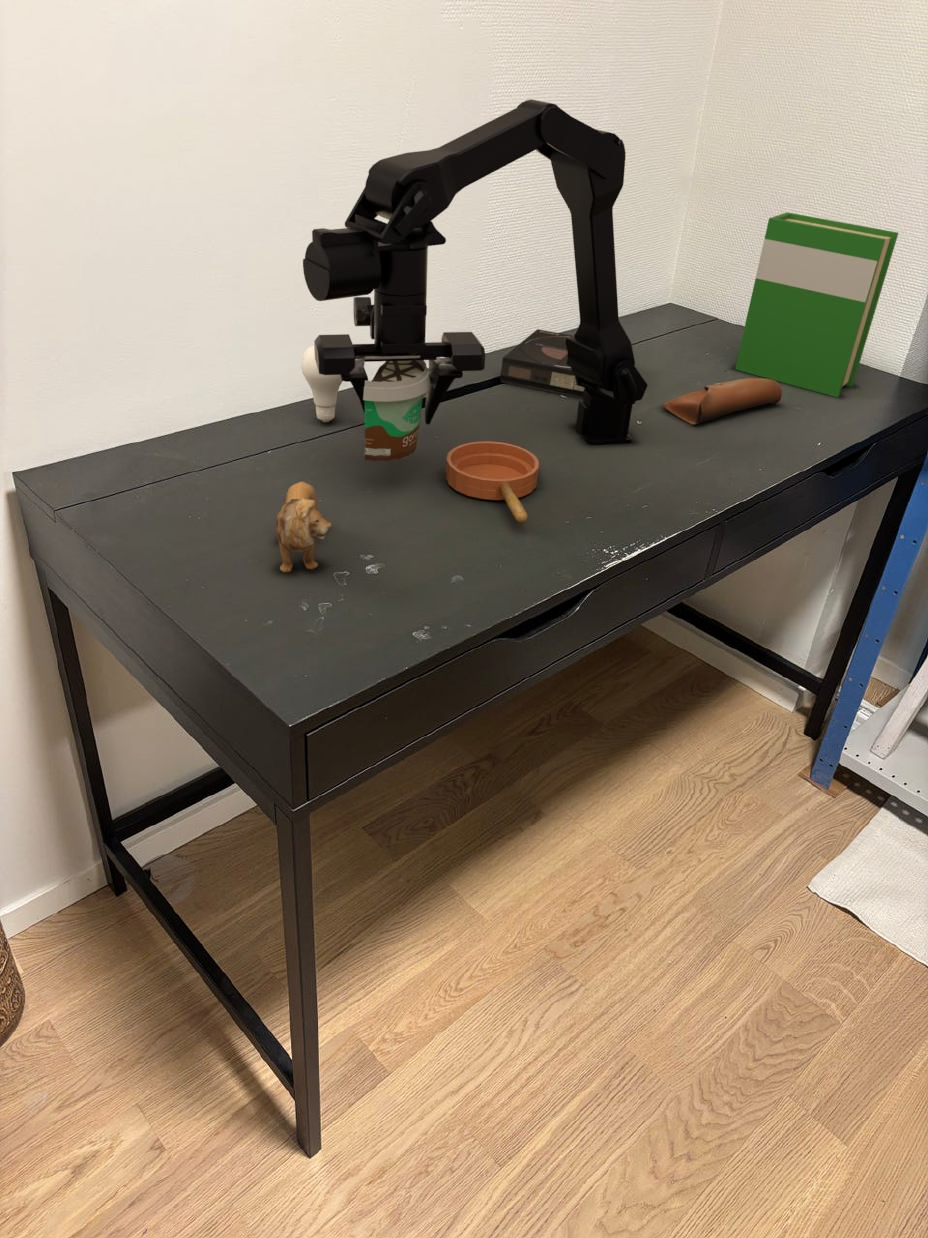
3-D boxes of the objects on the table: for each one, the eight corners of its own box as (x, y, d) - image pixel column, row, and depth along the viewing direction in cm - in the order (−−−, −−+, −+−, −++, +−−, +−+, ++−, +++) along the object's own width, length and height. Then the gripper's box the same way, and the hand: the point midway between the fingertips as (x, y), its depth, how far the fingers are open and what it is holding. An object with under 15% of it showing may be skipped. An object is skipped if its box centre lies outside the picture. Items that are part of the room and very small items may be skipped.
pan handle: (508, 489, 114) (508, 478, 113) (528, 525, 107) (529, 514, 106) (496, 489, 113) (497, 479, 113) (516, 525, 106) (517, 514, 105)
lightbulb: (355, 417, 133) (354, 340, 127) (336, 433, 128) (334, 353, 122) (315, 410, 134) (313, 333, 128) (295, 425, 130) (292, 346, 123)
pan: (522, 460, 124) (524, 439, 123) (547, 500, 115) (550, 478, 113) (437, 464, 122) (438, 443, 120) (456, 505, 113) (457, 482, 111)
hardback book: (852, 385, 156) (898, 232, 143) (837, 397, 151) (883, 239, 138) (752, 359, 164) (787, 212, 151) (735, 369, 159) (769, 218, 146)
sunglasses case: (738, 385, 151) (763, 356, 146) (762, 419, 149) (789, 392, 144) (658, 405, 142) (682, 375, 137) (683, 442, 140) (708, 413, 135)
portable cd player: (499, 383, 148) (501, 358, 145) (535, 352, 161) (537, 329, 159) (600, 403, 143) (604, 378, 141) (628, 370, 156) (632, 346, 154)
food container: (413, 474, 108) (418, 390, 102) (361, 465, 108) (363, 382, 103) (435, 431, 118) (441, 353, 112) (387, 423, 118) (390, 345, 113)
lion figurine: (334, 586, 96) (332, 508, 91) (281, 590, 95) (276, 511, 90) (318, 518, 108) (316, 445, 103) (271, 521, 107) (266, 447, 102)
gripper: (467, 268, 111) (461, 396, 120) (307, 269, 107) (312, 401, 116) (490, 296, 102) (481, 431, 111) (316, 298, 98) (321, 438, 107)
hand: (398, 424), depth 111 cm, fingers closed on food container, 6 cm apart
